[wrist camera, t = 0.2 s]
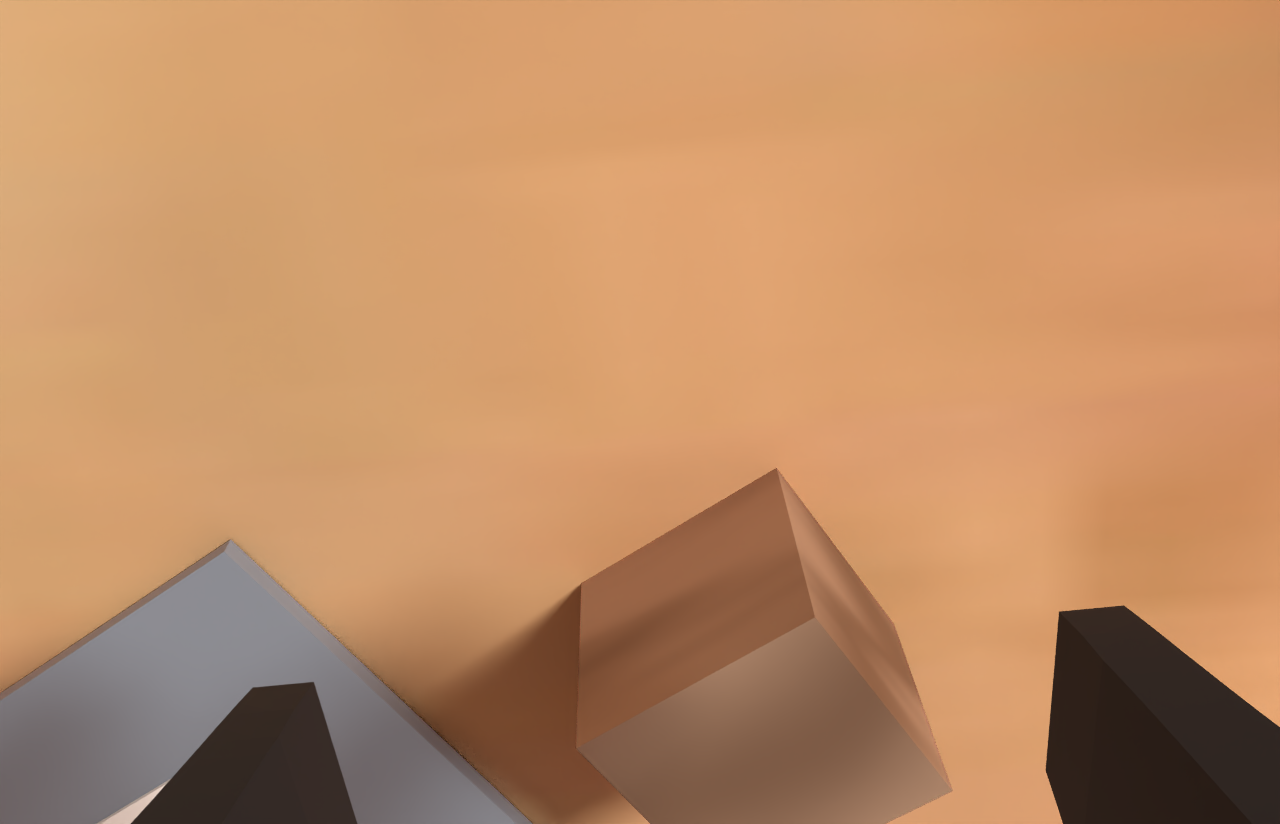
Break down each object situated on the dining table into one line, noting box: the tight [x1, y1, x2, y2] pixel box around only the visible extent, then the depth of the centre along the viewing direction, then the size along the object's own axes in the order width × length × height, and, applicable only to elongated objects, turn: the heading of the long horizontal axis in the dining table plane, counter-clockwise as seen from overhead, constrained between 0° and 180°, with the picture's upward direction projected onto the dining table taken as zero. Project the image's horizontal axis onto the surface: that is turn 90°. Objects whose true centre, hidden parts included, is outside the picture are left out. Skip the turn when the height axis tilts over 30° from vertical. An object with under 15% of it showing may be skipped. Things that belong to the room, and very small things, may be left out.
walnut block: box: [576, 468, 953, 824], centre depth 21 cm, size 4×4×4 cm
